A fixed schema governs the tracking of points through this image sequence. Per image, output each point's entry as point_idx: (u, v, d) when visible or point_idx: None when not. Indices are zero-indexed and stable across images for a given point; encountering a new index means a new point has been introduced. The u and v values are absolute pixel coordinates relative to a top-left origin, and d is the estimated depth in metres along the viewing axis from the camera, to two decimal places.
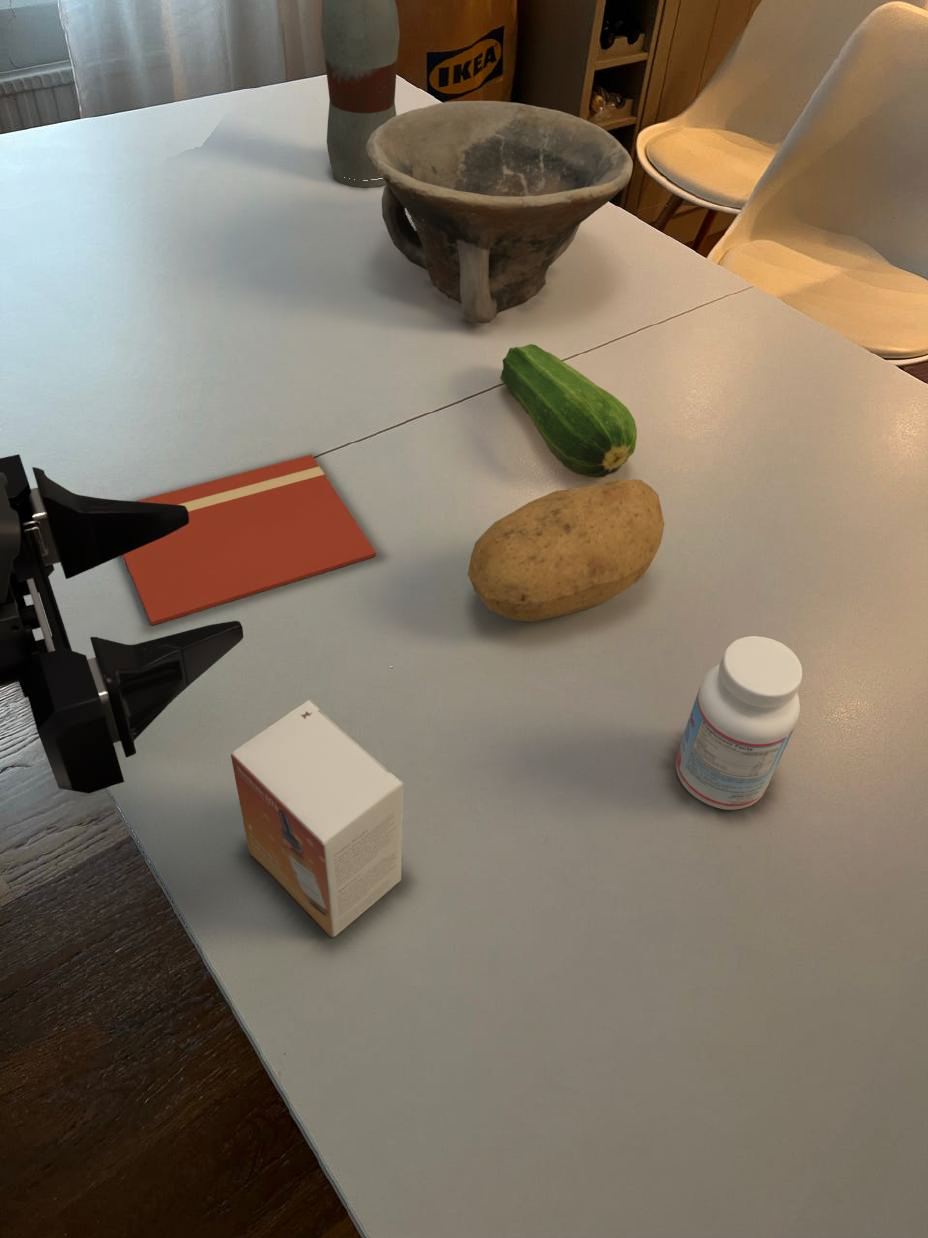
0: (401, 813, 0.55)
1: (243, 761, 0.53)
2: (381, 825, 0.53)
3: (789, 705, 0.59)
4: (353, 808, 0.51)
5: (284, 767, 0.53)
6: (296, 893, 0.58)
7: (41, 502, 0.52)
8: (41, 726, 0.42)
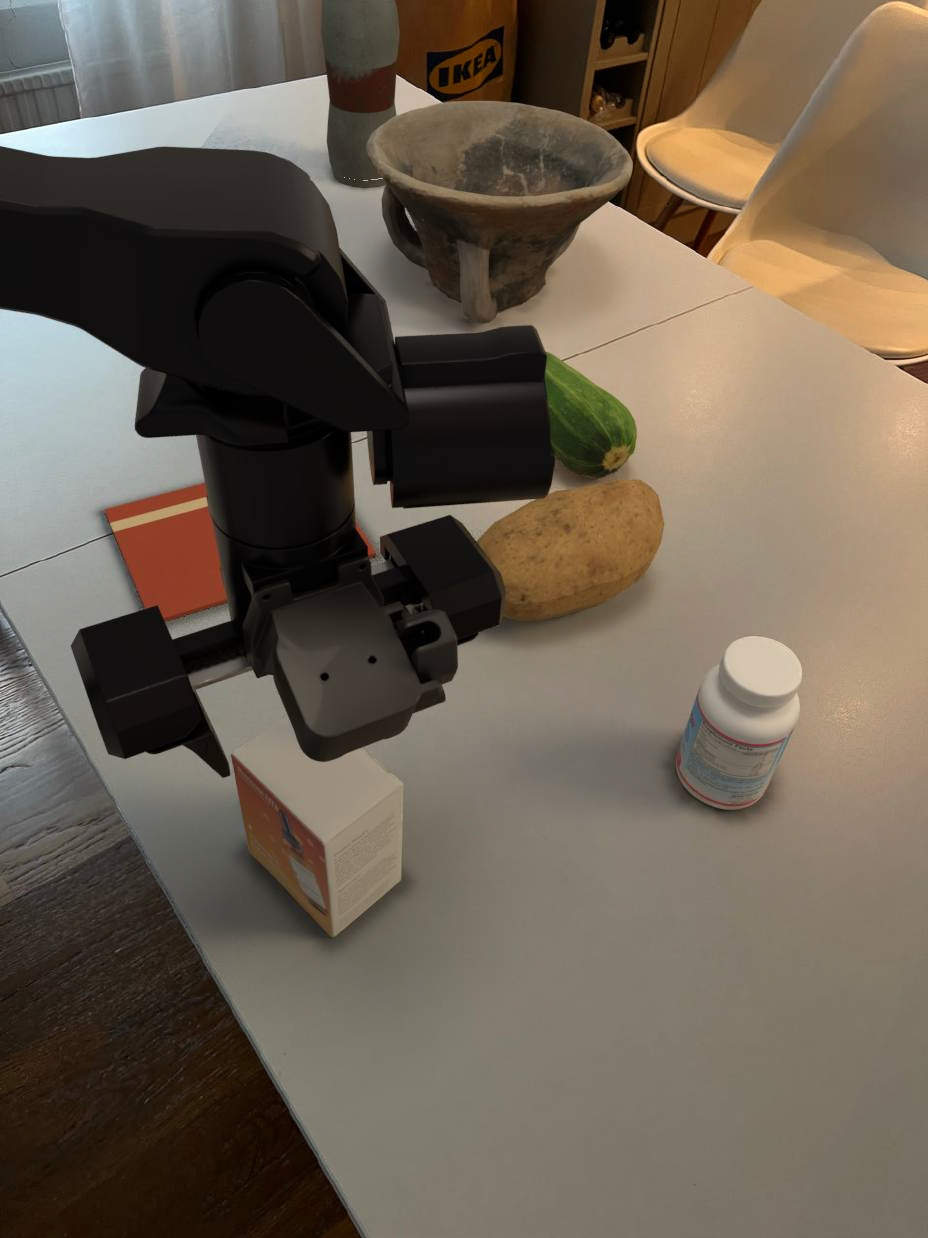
0: (401, 813, 0.55)
1: (243, 761, 0.53)
2: (381, 825, 0.53)
3: (789, 705, 0.59)
4: (353, 808, 0.51)
5: (284, 767, 0.53)
6: (296, 893, 0.58)
7: None
8: (108, 708, 0.40)
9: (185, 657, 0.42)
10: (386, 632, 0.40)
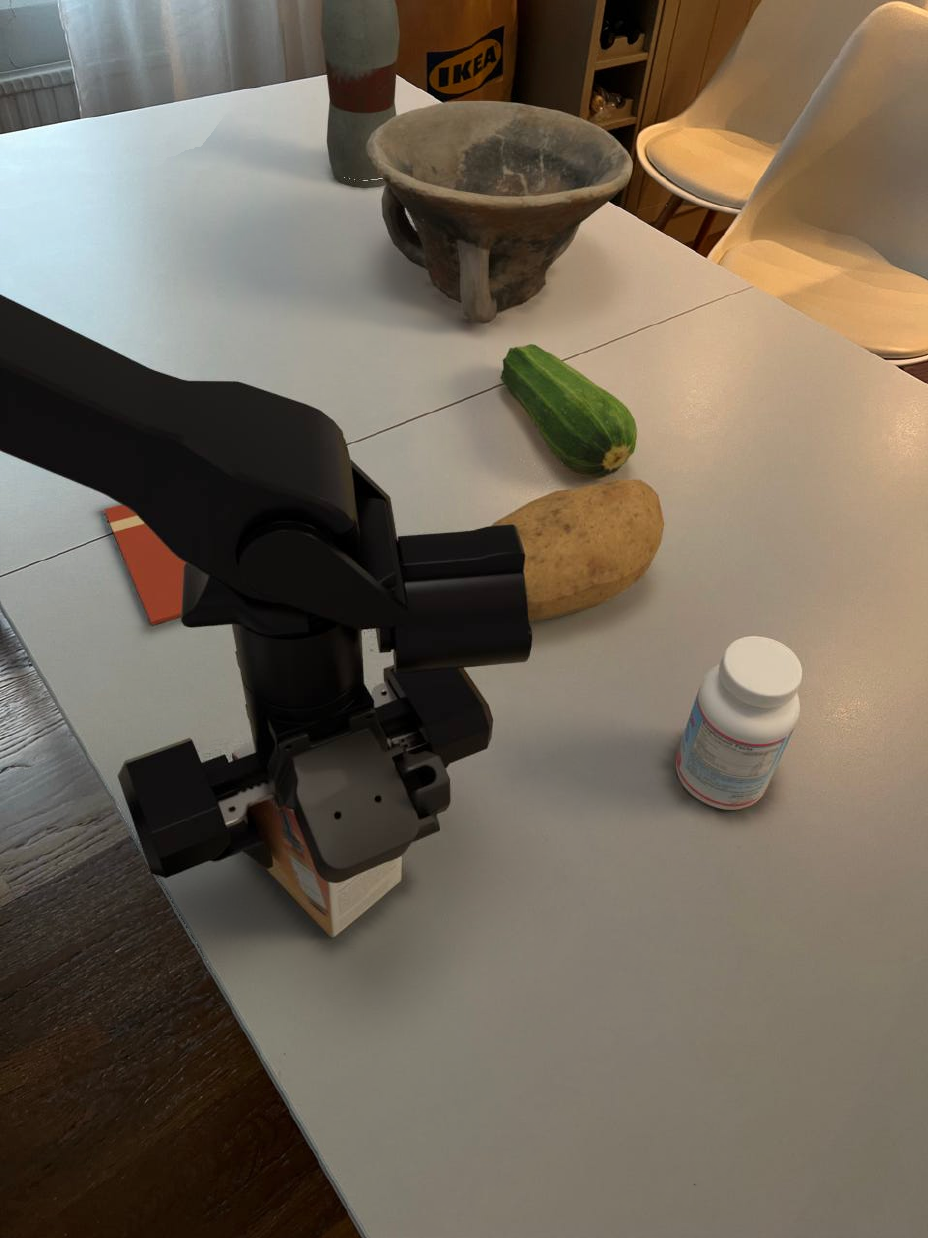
0: None
1: None
2: None
3: (789, 705, 0.59)
4: None
5: None
6: (296, 893, 0.58)
7: (416, 753, 0.54)
8: (153, 838, 0.47)
9: (216, 787, 0.49)
10: (390, 773, 0.47)
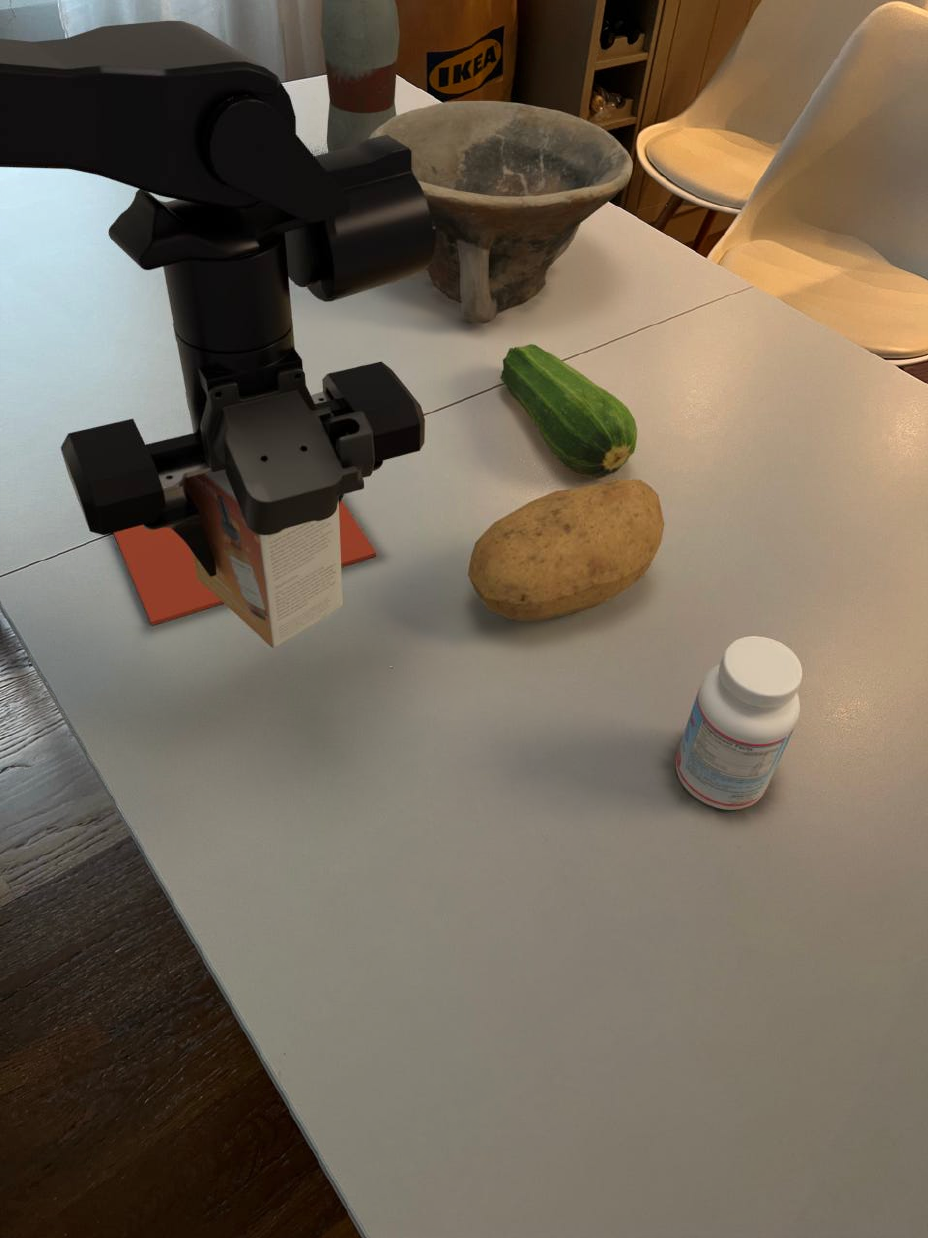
0: (337, 515, 0.57)
1: None
2: (317, 521, 0.56)
3: (789, 705, 0.59)
4: None
5: None
6: (239, 607, 0.60)
7: None
8: (90, 487, 0.49)
9: (154, 458, 0.52)
10: (316, 429, 0.49)
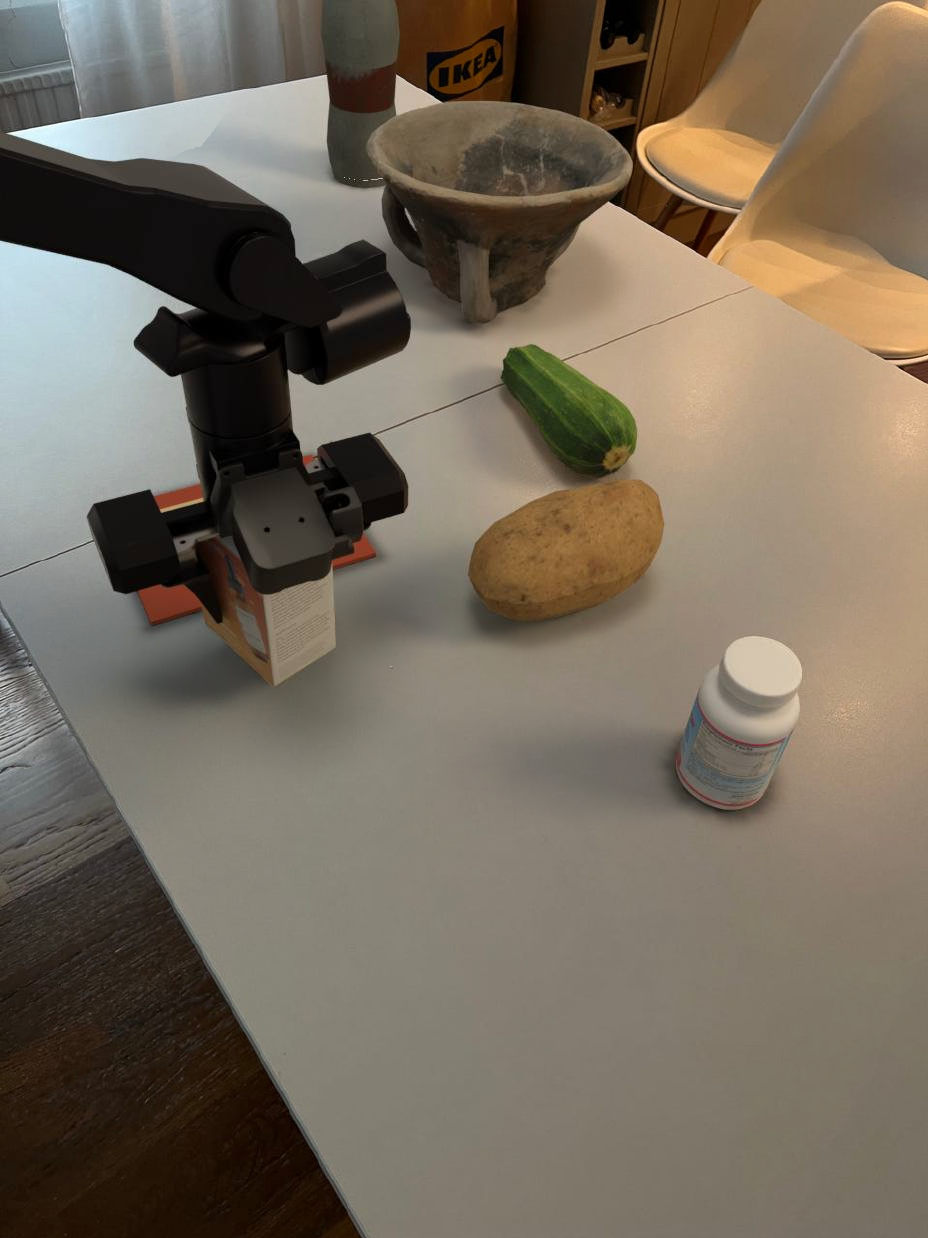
0: (331, 570, 0.64)
1: None
2: None
3: (789, 705, 0.59)
4: None
5: None
6: (243, 649, 0.67)
7: None
8: (114, 554, 0.56)
9: (169, 525, 0.59)
10: (312, 502, 0.56)
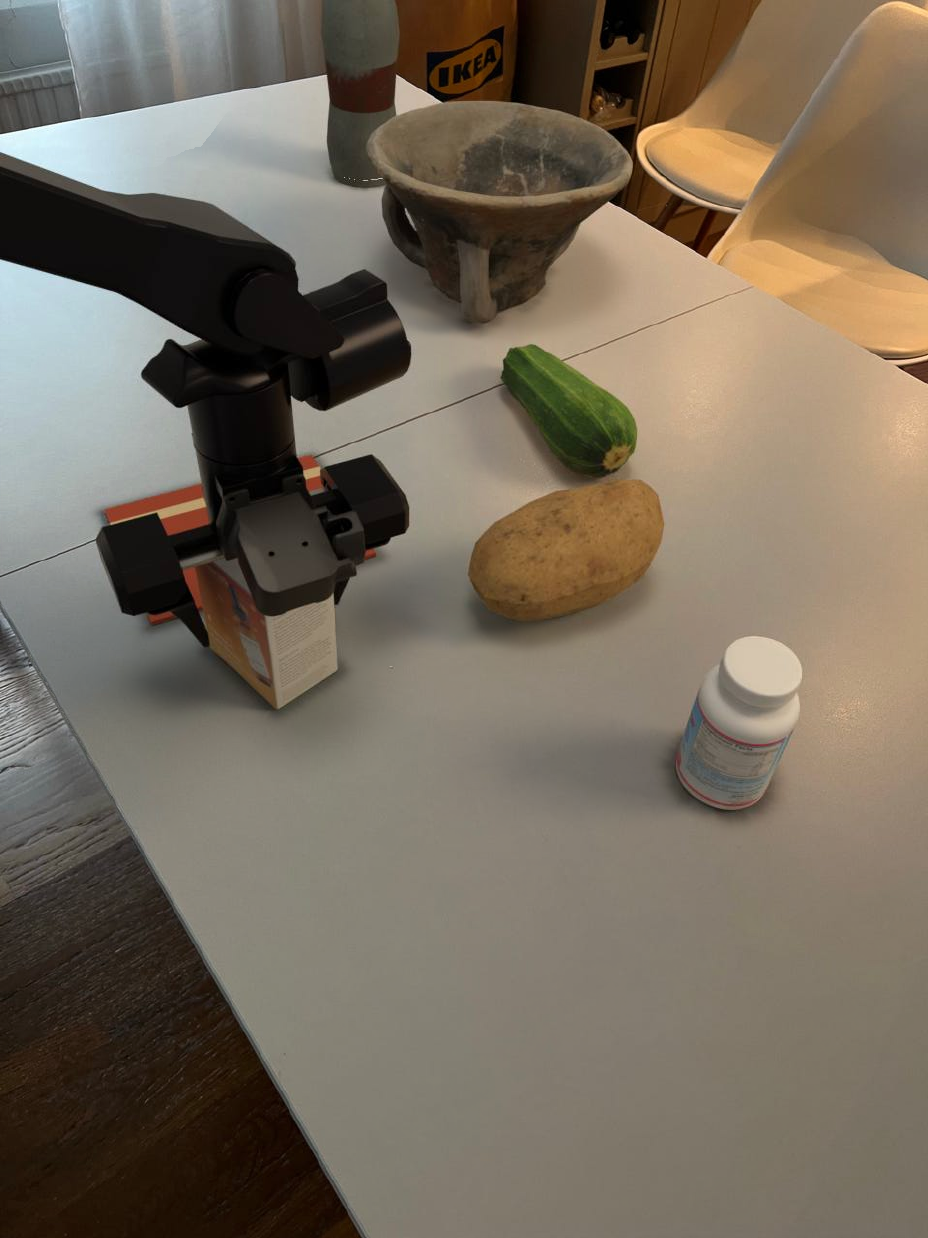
0: (332, 597, 0.66)
1: None
2: (314, 603, 0.65)
3: (789, 705, 0.59)
4: None
5: None
6: (247, 673, 0.69)
7: None
8: (122, 577, 0.57)
9: (176, 547, 0.60)
10: (315, 526, 0.57)
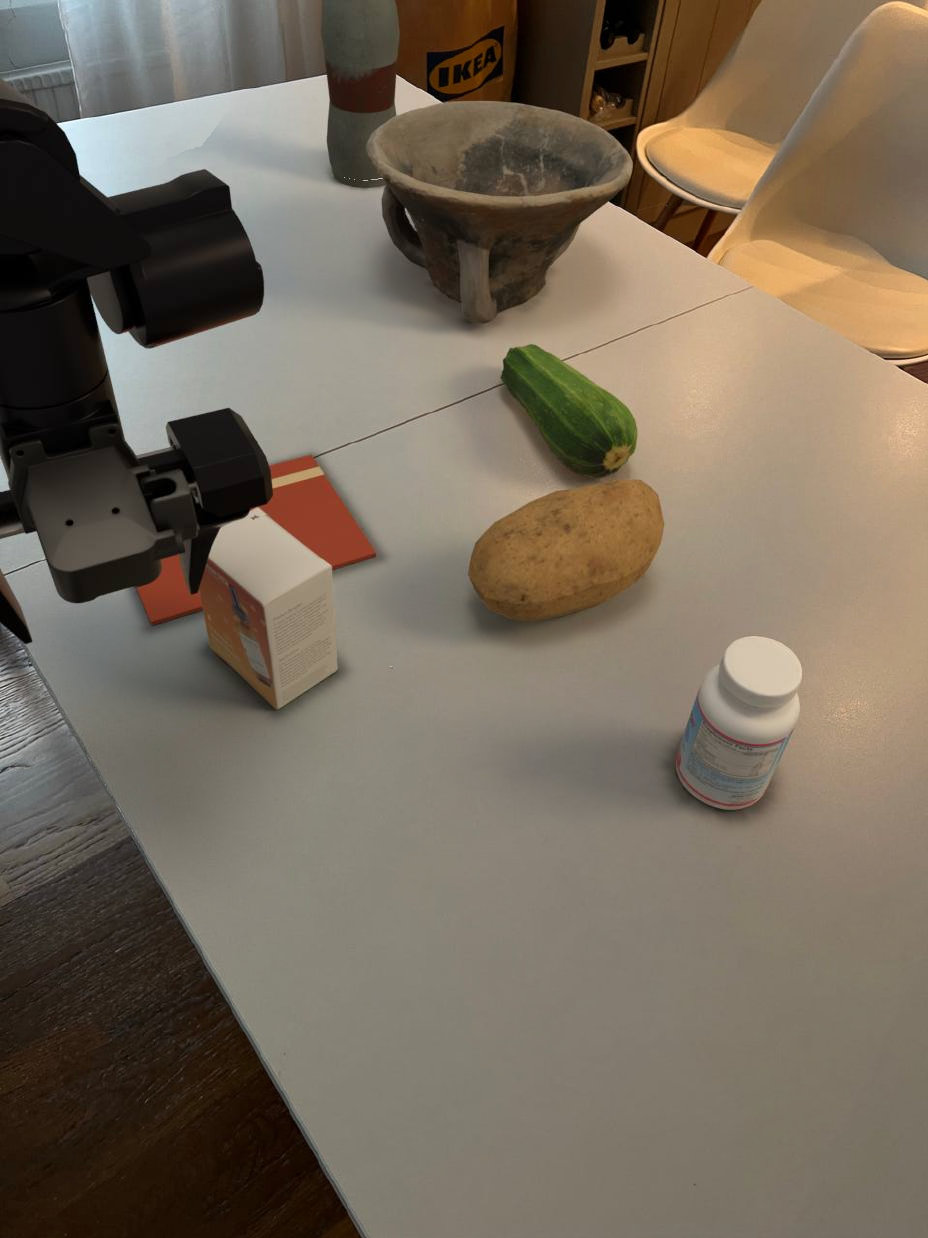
0: (332, 597, 0.66)
1: None
2: (314, 603, 0.65)
3: (789, 705, 0.59)
4: (289, 582, 0.62)
5: (234, 552, 0.64)
6: (247, 673, 0.69)
7: None
8: None
9: None
10: (131, 488, 0.45)
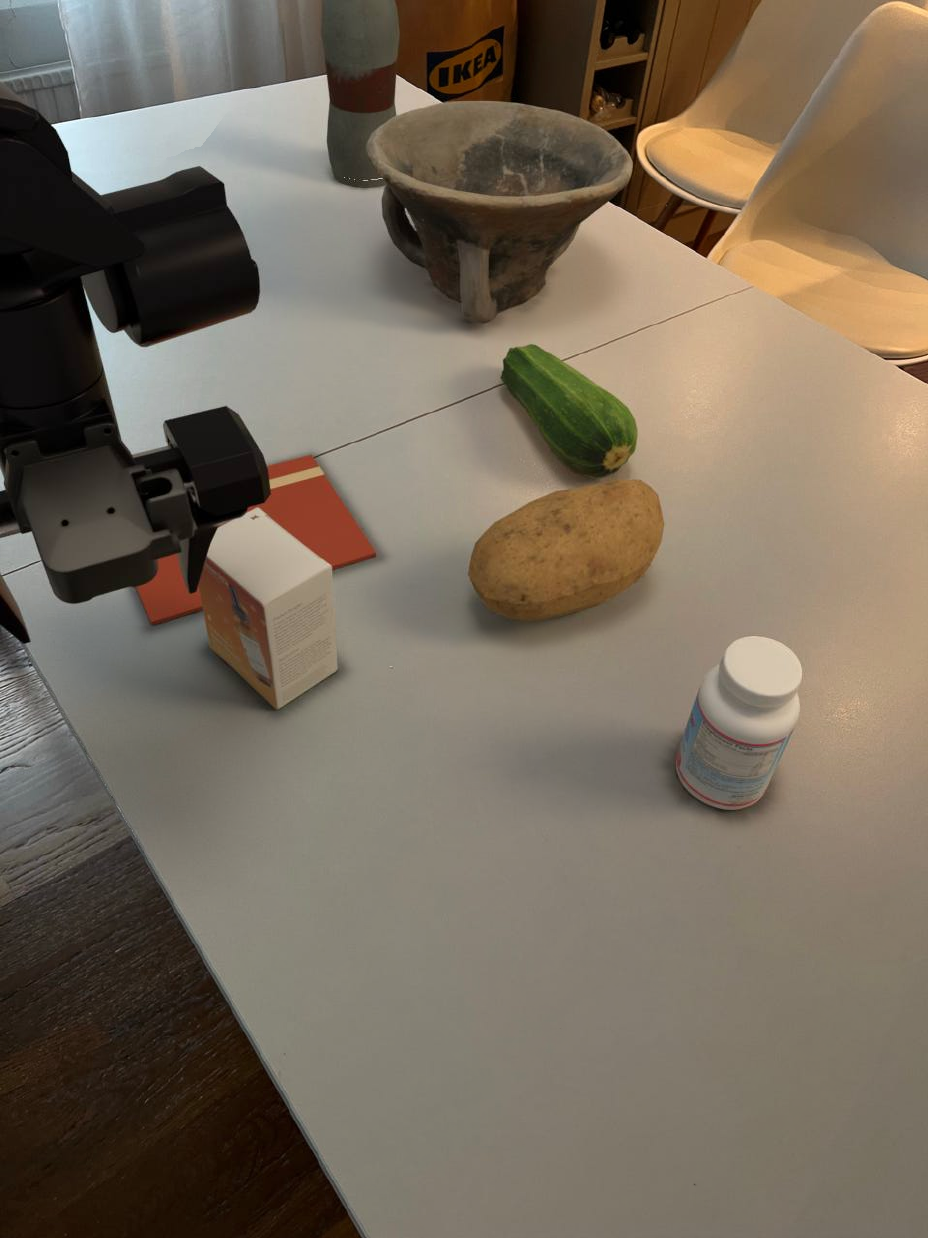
0: (332, 597, 0.66)
1: None
2: (314, 603, 0.65)
3: (789, 705, 0.59)
4: (289, 582, 0.62)
5: (234, 552, 0.64)
6: (247, 673, 0.69)
7: None
8: None
9: None
10: (127, 488, 0.45)
